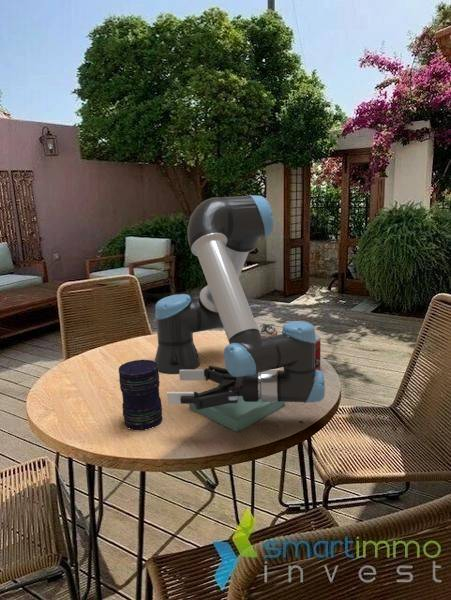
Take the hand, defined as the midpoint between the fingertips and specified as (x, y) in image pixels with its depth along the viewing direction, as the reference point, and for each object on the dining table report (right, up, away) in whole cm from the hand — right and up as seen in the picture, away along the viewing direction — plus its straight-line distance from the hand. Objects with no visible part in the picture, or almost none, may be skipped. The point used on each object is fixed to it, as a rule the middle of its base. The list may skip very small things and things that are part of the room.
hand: (173, 385), depth 114 cm
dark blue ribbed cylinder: (-8, -10, +4) cm, 13 cm away
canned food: (+39, -1, +31) cm, 50 cm away
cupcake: (+27, +3, +49) cm, 56 cm away
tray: (+16, -7, +8) cm, 19 cm away
